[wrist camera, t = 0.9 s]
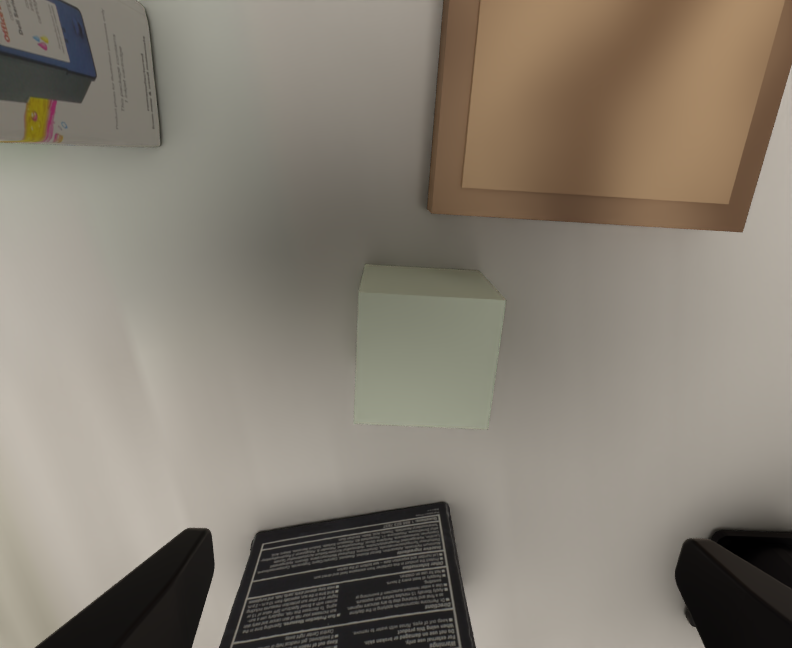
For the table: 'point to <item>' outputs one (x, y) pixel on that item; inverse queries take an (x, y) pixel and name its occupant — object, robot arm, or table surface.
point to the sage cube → (426, 347)
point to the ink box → (77, 74)
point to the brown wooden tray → (607, 109)
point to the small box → (354, 585)
